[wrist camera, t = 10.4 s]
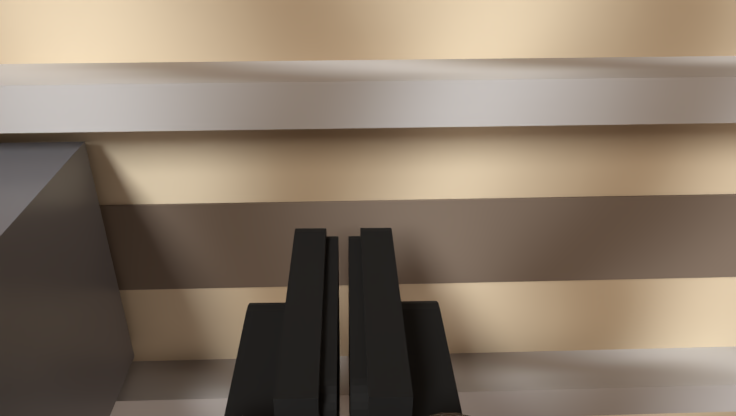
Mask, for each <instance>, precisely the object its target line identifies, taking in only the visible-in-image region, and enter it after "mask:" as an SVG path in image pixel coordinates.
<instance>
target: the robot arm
mask: <svg viewBox="0 0 736 416" xmlns="http://www.w3.org/2000/svg"><path fill="white" fill-rule="evenodd" d="M348 275H349V416H468V415H464V414H462V410H461V405H460V400H459V396H458V391H457V386H456V382H455V377H454V372H453V367H452V363H451V358H450V353H449V349H448V344H447V339H446V334H445V330H444V325H443V320H442V316H441V311H440V307H439V303H438V302H437V301H401V298H400V290H399V282H398V274H397V266H396V259H395V251H394V243H393V235H392V229H391V228H360V236H348ZM224 416H340V321H339V238H338V236H327V231H326V228H296V229H295V232H294V240H293V248H292V255H291V263H290V271H289V279H288V287H287V294H286V302H285V303H249V305H248V307H247V310H246V315H245V320H244V324H243V329H242V334H241V339H240V343H239V348H238V353H237V358H236V362H235V367H234V372H233V377H232V381H231V386H230V391H229V396H228V400H227V405H226V410H225V414H224Z"/></svg>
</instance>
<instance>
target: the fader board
mask: <svg viewBox="0 0 736 416" xmlns="http://www.w3.org/2000/svg"><path fill="white" fill-rule="evenodd" d="M25 142H85V145H86V150H87V154H88V158H89V163H90V167H91V171H92V175H93V180H94V184H95V188H96V193H97V197H98V201H99V206H100V210H101V214H102V219H103V223H104V227H105V231H106V236H107V240H108V244H109V249H110V253H111V257H112V262H113V266H114V270H115V275H116V279H117V283H118V287H119V292H120V296H121V300H122V305H123V309H124V313H125V318H126V322H127V326H128V331H129V335H130V339H131V343H132V348H133V352H134V359H133V361H132V364H131V366H130V368H129V371H128V373H127V376H126V378H125V380H124V383H123V385H122V388H121V390H120V393H119V395H118V397H117V400H116V402H115V405H114V407H113V410H112V412H111V414H110V416H224V414H225V410H226V405H227V400H228V396H229V391H230V386H231V381H232V377H233V372H234V367H235V362H236V358H237V353H238V348H239V343H240V339H241V334H242V329H243V324H244V320H245V315H246V310H247V307H248V305H249V303H285V302H286V294H287V287H288V279H289V271H290V263H291V255H292V248H293V240H294V232H295V229H296V228H326V231H327V236H338V238H339V321H340V416H349V275H348V236H360V228H391V229H392V235H393V243H394V251H395V259H396V266H397V274H398V282H399V290H400V298H401V301H437V302H438V303H439V307H440V311H441V316H442V320H443V325H444V330H445V334H446V339H447V344H448V349H449V353H450V358H451V363H452V367H453V372H454V377H455V382H456V386H457V391H458V396H459V400H460V405H461V410H462V414H464V415H468V416H736V0H0V143H25Z"/></svg>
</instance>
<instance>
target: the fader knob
mask: <svg viewBox="0 0 736 416" xmlns="http://www.w3.org/2000/svg"><path fill="white" fill-rule="evenodd" d="M133 359H134V352H133V348H132V343H131V339H130V335H129V331H128V326H127V322H126V318H125V313H124V309H123V305H122V300H121V296H120V292H119V287H118V283H117V279H116V275H115V270H114V266H113V262H112V257H111V253H110V249H109V244H108V240H107V236H106V231H105V227H104V223H103V219H102V214H101V210H100V206H99V201H98V197H97V193H96V188H95V184H94V180H93V175H92V171H91V167H90V163H89V158H88V154H87V150H86V145H85V142H25V143H0V416H110V414H111V412H112V410H113V407H114V405H115V402H116V400H117V397H118V395H119V393H120V390H121V388H122V385H123V383H124V380H125V378H126V376H127V373H128V371H129V368H130V366H131V364H132V361H133Z"/></svg>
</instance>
